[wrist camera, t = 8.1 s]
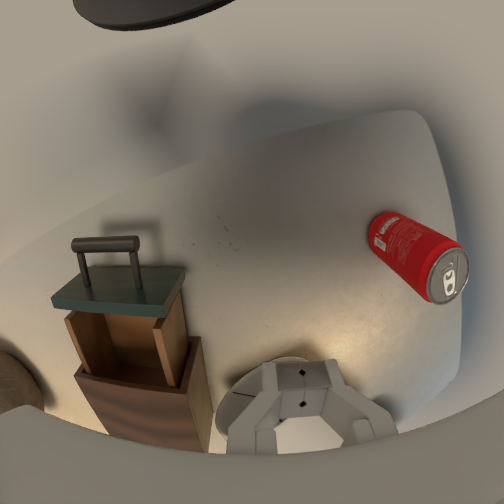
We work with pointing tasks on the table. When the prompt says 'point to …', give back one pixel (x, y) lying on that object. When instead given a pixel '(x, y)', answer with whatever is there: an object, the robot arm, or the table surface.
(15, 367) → the bowl
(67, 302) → the drawer
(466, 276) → the beverage can
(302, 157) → the table surface
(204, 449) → the cabinet
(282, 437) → the light fixture
